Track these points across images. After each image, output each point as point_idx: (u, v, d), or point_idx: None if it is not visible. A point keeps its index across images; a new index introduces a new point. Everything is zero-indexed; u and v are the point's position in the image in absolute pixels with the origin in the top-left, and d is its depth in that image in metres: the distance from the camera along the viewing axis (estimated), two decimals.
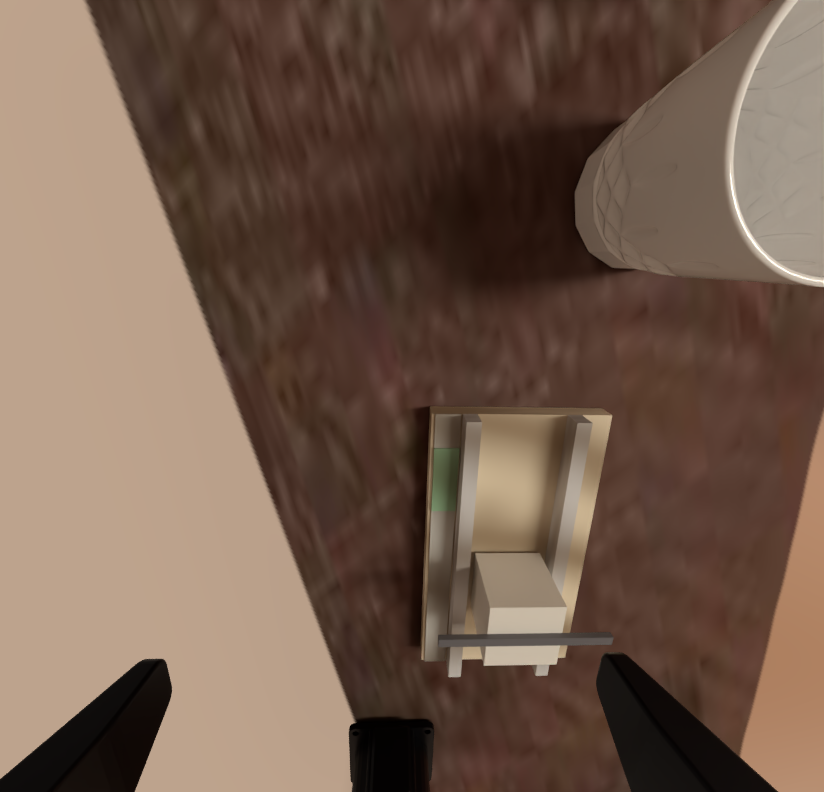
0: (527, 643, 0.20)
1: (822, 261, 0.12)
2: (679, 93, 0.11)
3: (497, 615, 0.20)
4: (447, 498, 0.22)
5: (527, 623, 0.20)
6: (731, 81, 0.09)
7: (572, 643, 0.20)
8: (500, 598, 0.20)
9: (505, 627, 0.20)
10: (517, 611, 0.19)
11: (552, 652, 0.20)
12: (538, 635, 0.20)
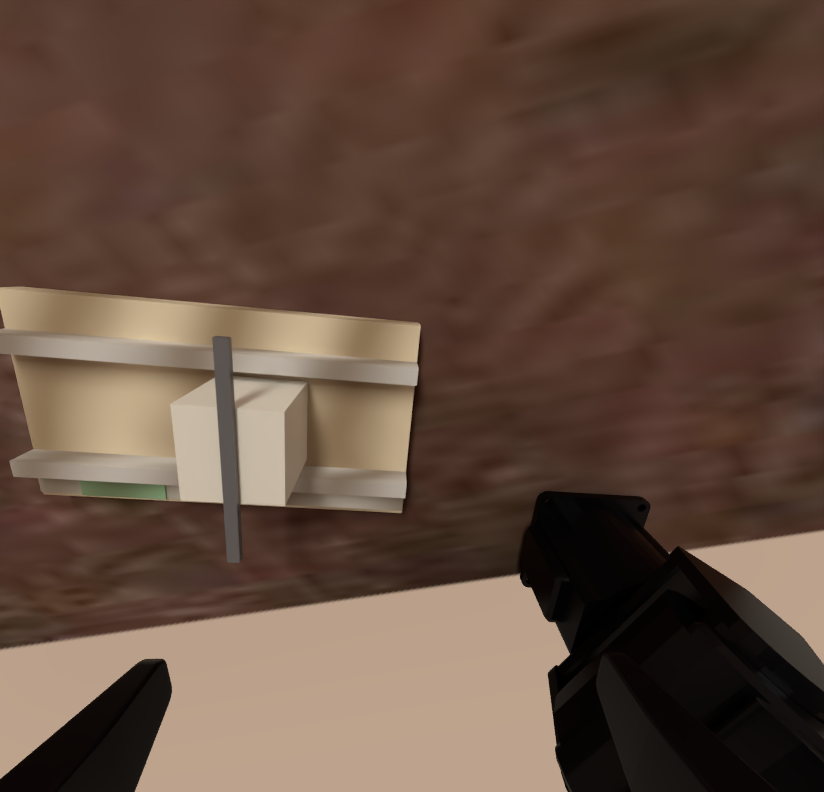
0: (230, 459, 0.14)
1: None
2: None
3: (193, 491, 0.15)
4: None
5: (205, 455, 0.14)
6: None
7: (227, 398, 0.13)
8: None
9: (213, 482, 0.15)
10: (183, 468, 0.14)
11: (261, 418, 0.14)
12: (227, 439, 0.14)
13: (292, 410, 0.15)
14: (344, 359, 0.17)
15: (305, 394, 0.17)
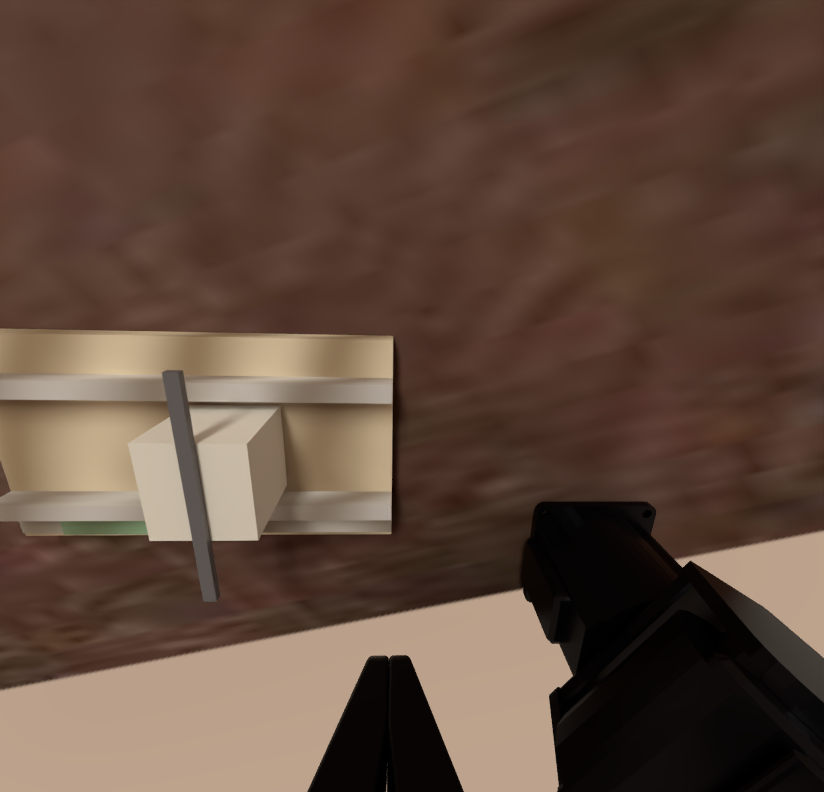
0: (194, 497, 0.13)
1: None
2: None
3: (161, 531, 0.14)
4: None
5: (170, 493, 0.14)
6: None
7: (184, 434, 0.13)
8: None
9: (181, 520, 0.14)
10: (149, 507, 0.14)
11: (223, 452, 0.13)
12: (190, 475, 0.13)
13: (259, 439, 0.14)
14: (315, 381, 0.16)
15: (278, 419, 0.17)
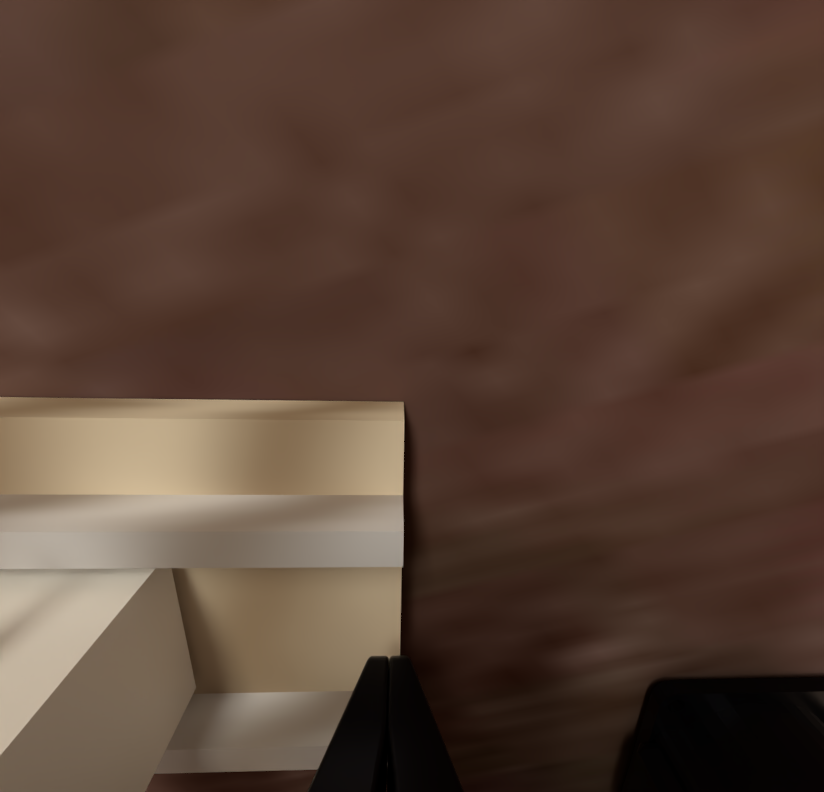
0: None
1: None
2: None
3: None
4: None
5: None
6: None
7: None
8: None
9: None
10: None
11: None
12: None
13: (62, 707, 0.06)
14: (233, 513, 0.07)
15: (158, 588, 0.08)
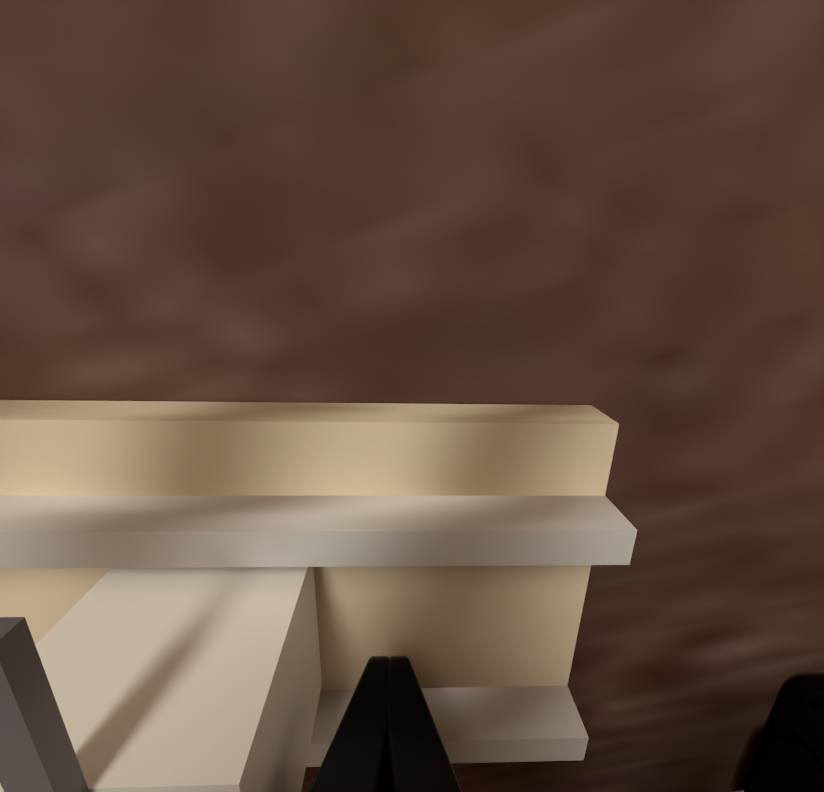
0: None
1: None
2: None
3: None
4: None
5: None
6: None
7: None
8: None
9: None
10: None
11: None
12: None
13: (273, 699, 0.06)
14: (461, 513, 0.08)
15: (309, 586, 0.08)
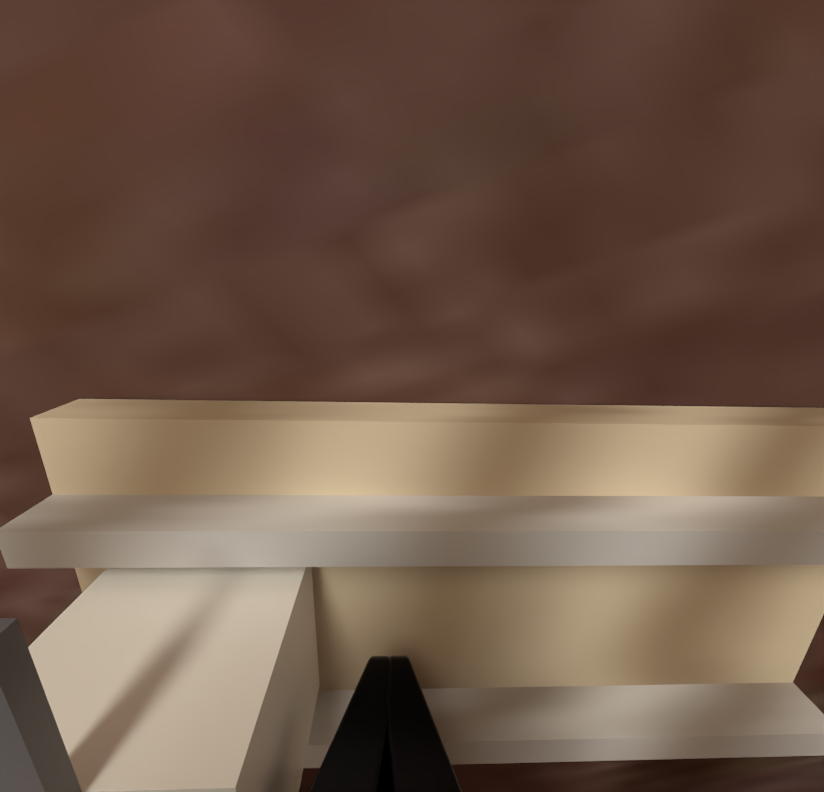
0: None
1: None
2: None
3: None
4: None
5: None
6: None
7: None
8: None
9: None
10: None
11: None
12: None
13: (270, 700, 0.06)
14: (762, 513, 0.08)
15: (306, 586, 0.08)
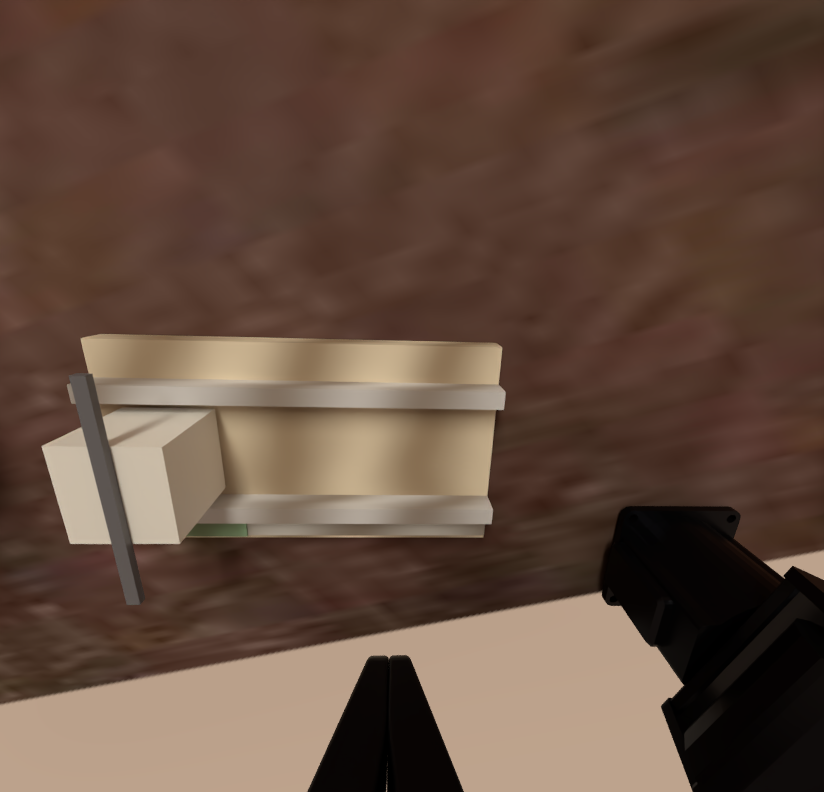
0: (110, 500, 0.13)
1: None
2: None
3: (81, 534, 0.14)
4: None
5: (87, 496, 0.14)
6: None
7: (96, 437, 0.13)
8: None
9: (101, 523, 0.14)
10: (67, 510, 0.14)
11: (138, 455, 0.13)
12: (106, 478, 0.13)
13: (182, 443, 0.14)
14: (427, 387, 0.16)
15: (211, 422, 0.17)
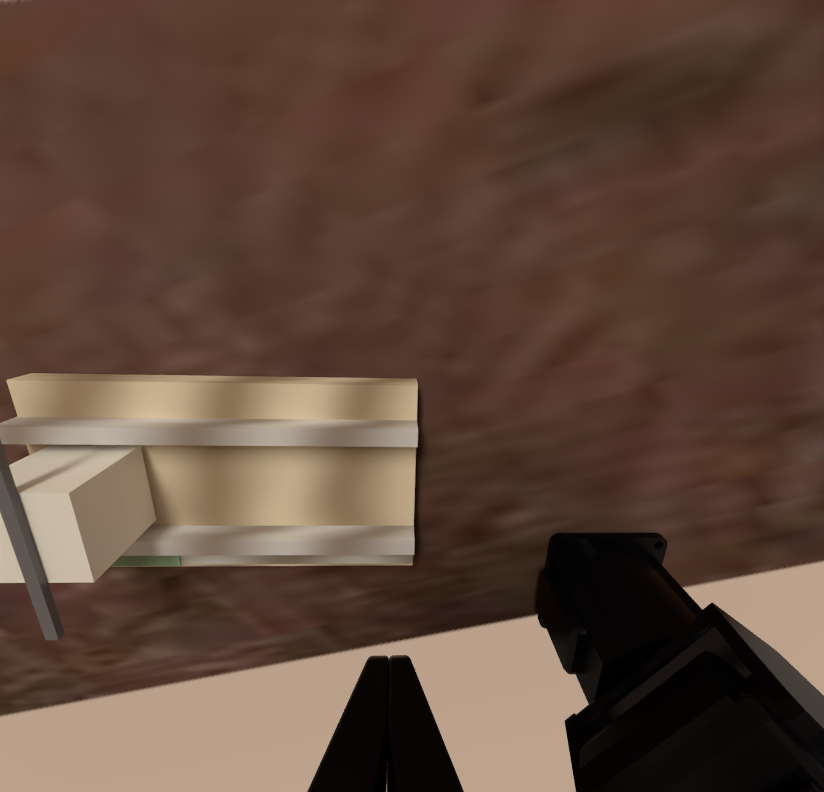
0: (21, 543, 0.14)
1: None
2: None
3: None
4: None
5: (0, 539, 0.14)
6: None
7: (2, 485, 0.13)
8: None
9: (16, 563, 0.14)
10: None
11: (47, 500, 0.14)
12: (18, 522, 0.14)
13: (96, 485, 0.15)
14: (344, 425, 0.17)
15: (135, 459, 0.17)
